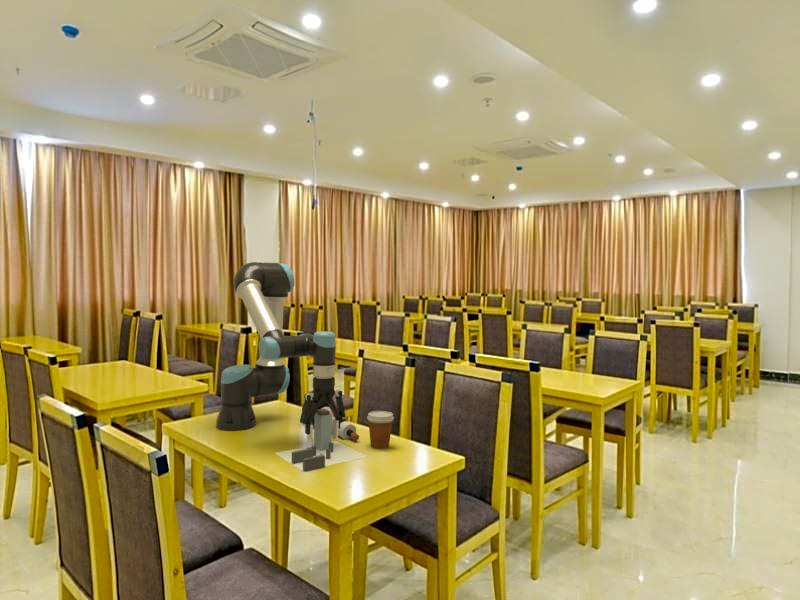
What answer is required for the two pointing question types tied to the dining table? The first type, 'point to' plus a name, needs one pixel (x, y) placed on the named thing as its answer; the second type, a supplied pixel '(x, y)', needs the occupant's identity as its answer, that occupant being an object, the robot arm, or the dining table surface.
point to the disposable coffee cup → (380, 428)
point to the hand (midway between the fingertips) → (322, 440)
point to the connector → (322, 429)
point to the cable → (345, 427)
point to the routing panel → (319, 456)
